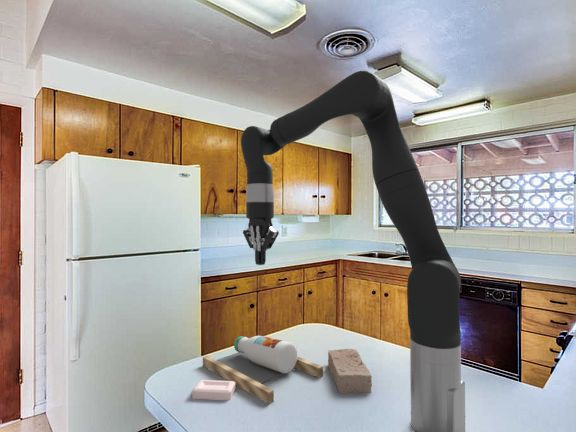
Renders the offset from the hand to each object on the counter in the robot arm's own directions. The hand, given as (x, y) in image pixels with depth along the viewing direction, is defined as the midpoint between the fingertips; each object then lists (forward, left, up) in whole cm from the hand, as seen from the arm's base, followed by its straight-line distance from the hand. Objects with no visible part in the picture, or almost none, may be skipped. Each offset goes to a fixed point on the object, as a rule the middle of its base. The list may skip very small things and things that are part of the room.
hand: (260, 264), depth 94 cm
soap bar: (-1, +15, -30) cm, 33 cm away
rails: (0, 0, -29) cm, 29 cm away
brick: (-19, -14, -30) cm, 38 cm away
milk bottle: (-8, -4, -24) cm, 26 cm away
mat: (+4, 0, -29) cm, 29 cm away
